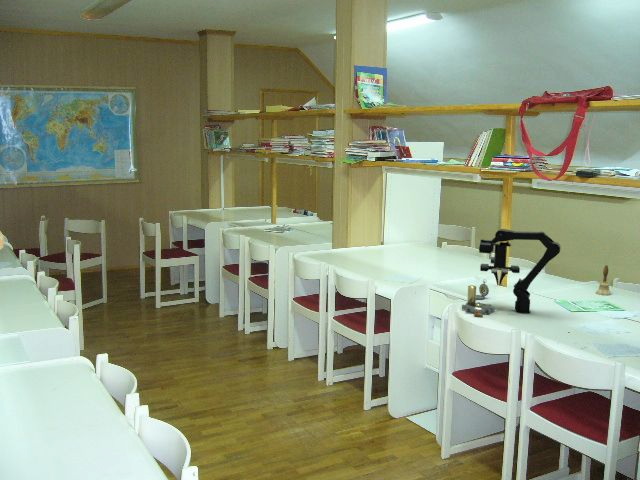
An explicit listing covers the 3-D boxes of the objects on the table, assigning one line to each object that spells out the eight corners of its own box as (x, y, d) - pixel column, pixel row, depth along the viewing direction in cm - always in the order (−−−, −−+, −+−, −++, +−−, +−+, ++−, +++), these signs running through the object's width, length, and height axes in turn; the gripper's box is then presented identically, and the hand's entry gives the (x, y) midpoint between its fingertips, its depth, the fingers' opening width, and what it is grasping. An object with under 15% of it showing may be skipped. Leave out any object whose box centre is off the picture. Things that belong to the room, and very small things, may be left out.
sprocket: (478, 304, 340) (479, 283, 338) (501, 312, 327) (502, 290, 325) (455, 308, 332) (456, 286, 331) (477, 316, 319) (478, 293, 317)
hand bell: (608, 292, 374) (611, 264, 372) (613, 295, 366) (616, 267, 364) (593, 291, 375) (595, 263, 373) (598, 295, 367) (600, 266, 364)
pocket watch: (470, 298, 354) (471, 280, 352) (474, 295, 361) (475, 277, 360) (486, 300, 350) (487, 282, 349) (489, 297, 358) (491, 279, 356)
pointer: (482, 316, 321) (482, 313, 321) (482, 317, 318) (482, 315, 318) (474, 315, 322) (474, 312, 322) (474, 317, 319) (474, 314, 319)
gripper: (518, 252, 336) (517, 283, 339) (480, 250, 340) (479, 280, 343) (520, 256, 326) (518, 287, 328) (481, 254, 329) (479, 285, 332)
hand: (498, 285), depth 333 cm, fingers closed
